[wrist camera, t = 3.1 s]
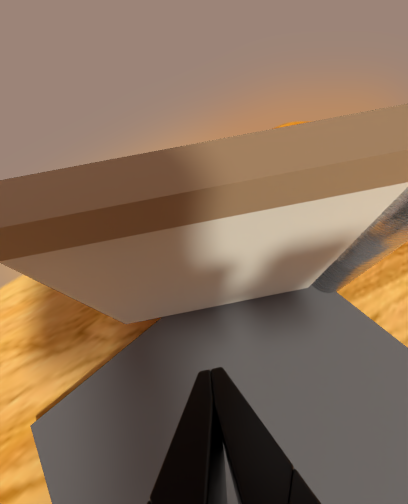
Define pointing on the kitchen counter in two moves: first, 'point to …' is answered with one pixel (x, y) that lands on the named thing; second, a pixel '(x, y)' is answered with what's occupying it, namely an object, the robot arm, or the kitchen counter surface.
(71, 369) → the kitchen counter surface
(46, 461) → the mat
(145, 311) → the panel
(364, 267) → the gate post
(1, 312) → the kitchen counter surface
